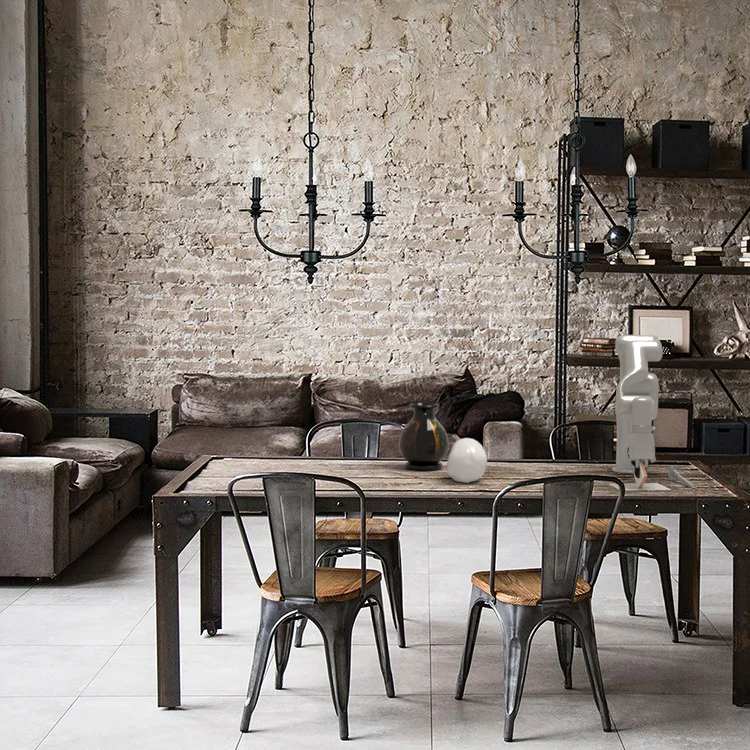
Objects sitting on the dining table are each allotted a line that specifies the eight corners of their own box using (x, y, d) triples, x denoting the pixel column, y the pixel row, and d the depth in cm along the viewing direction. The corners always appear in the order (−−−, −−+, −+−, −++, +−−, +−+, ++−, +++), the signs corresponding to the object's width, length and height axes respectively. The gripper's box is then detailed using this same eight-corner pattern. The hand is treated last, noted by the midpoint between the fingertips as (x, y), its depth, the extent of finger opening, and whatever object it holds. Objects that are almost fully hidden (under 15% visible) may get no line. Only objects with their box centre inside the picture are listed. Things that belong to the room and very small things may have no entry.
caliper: (668, 480, 409) (668, 465, 409) (671, 480, 409) (671, 465, 409) (693, 489, 389) (693, 473, 389) (696, 489, 389) (696, 473, 389)
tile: (637, 488, 386) (633, 473, 391) (641, 488, 386) (637, 473, 391) (643, 476, 380) (638, 461, 385) (647, 476, 380) (643, 461, 385)
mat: (607, 485, 397) (607, 483, 396) (657, 484, 398) (657, 483, 398) (620, 492, 382) (620, 490, 382) (671, 491, 383) (671, 489, 383)
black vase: (449, 472, 424) (450, 406, 422) (398, 472, 425) (399, 406, 423) (447, 464, 446) (447, 401, 444) (398, 464, 446) (399, 401, 444)
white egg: (480, 466, 420) (485, 427, 406) (485, 501, 404) (491, 462, 391) (442, 466, 420) (446, 426, 406) (446, 501, 404) (450, 462, 390)
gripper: (657, 428, 389) (656, 476, 390) (618, 428, 388) (617, 476, 389) (664, 430, 382) (663, 479, 383) (624, 430, 380) (623, 479, 381)
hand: (640, 477), depth 386 cm, fingers closed on tile, 1 cm apart
